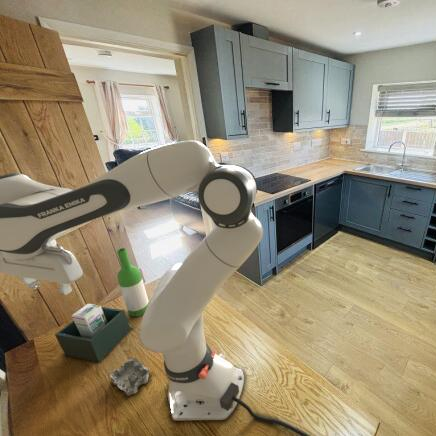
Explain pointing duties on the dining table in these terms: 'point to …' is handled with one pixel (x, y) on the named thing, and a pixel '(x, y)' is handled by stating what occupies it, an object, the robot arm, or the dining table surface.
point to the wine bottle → (132, 285)
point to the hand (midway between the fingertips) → (51, 290)
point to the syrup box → (89, 320)
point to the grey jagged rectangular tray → (130, 376)
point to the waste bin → (94, 337)
